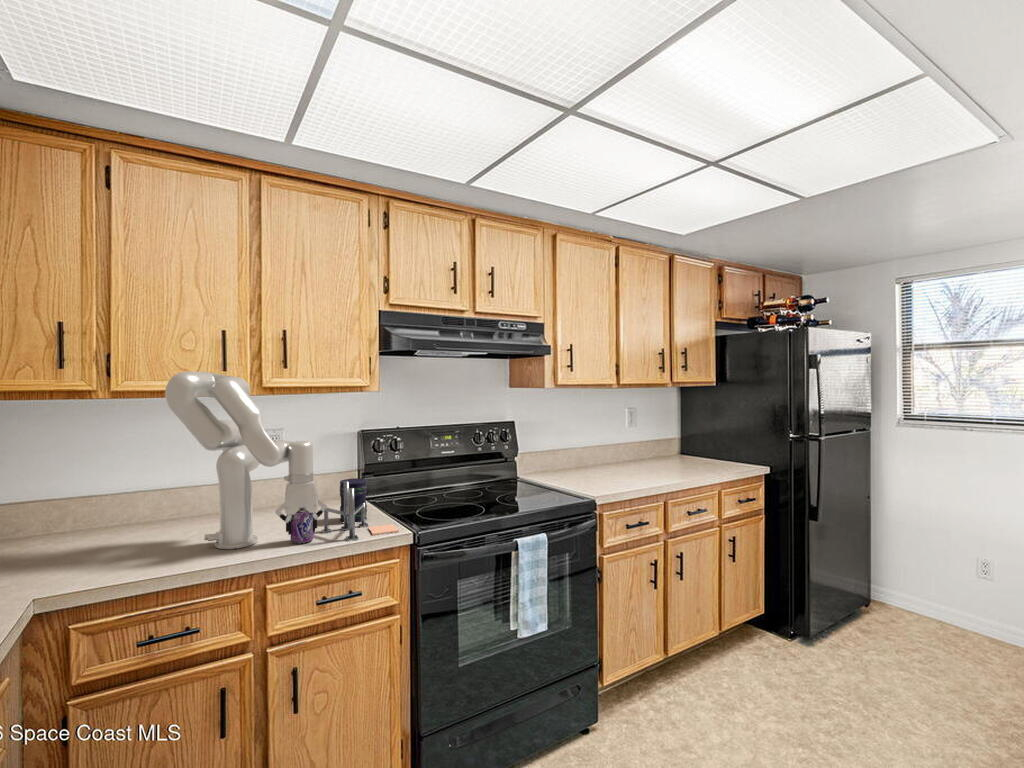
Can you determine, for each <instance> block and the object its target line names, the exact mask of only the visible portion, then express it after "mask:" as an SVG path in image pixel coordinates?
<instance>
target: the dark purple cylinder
mask: <svg viewBox="0 0 1024 768" xmlns="http://www.w3.org/2000/svg"><path fill="white" fill-rule="evenodd" d="M345 481H349V488H354V506H355V509H356V508H357V507H358V506H360V505H361V503H365V521H367V520H368V519H367V518H368V517H367V512H368V507H367V506H368V505H367V489H368V488H367V479H365V478H358V477H356V478H346V479H342V480H340V481H339V484H340V485H339V497H340V506H339V511H343V512H344V482H345ZM339 515H340V514H339ZM339 517H340V523H342V522H344V515H340V516H339ZM355 522H359V523H361V510H360V511H358V512H357V513H356V514H355Z"/></svg>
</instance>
